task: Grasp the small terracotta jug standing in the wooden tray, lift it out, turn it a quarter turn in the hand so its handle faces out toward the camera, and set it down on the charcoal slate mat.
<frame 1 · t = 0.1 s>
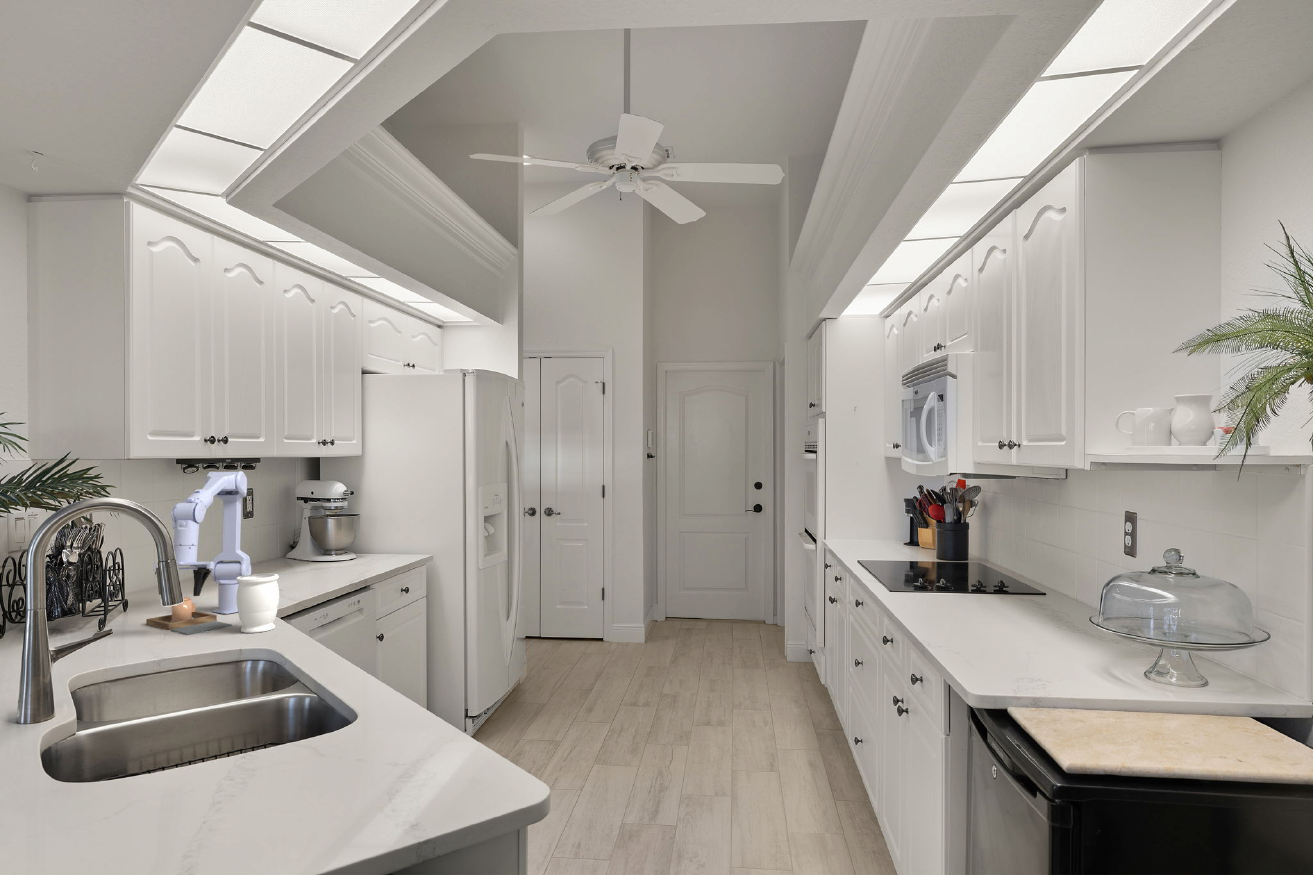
hand: (181, 596, 201), 11 cm above the counter, tool pointing down, fingers open, 7 cm apart
mat: (201, 628, 209), on the counter
jug: (183, 610, 217), in the wooden tray
jar: (258, 630, 206), on the counter
wooden tray: (181, 622, 216), on the counter
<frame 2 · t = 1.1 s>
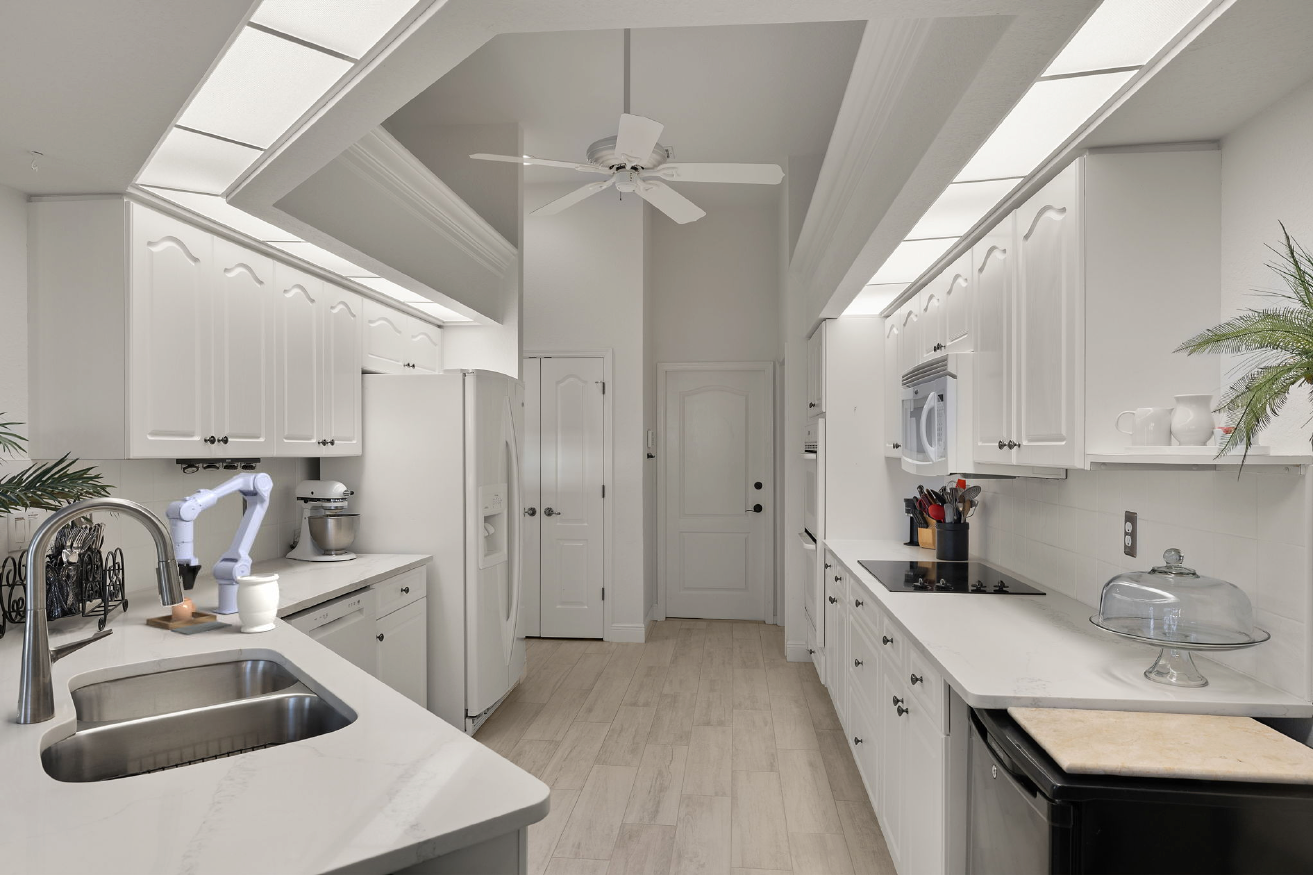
hand: (181, 588, 217), 10 cm above the counter, tool pointing down, fingers open, 7 cm apart
nothing on the counter moved.
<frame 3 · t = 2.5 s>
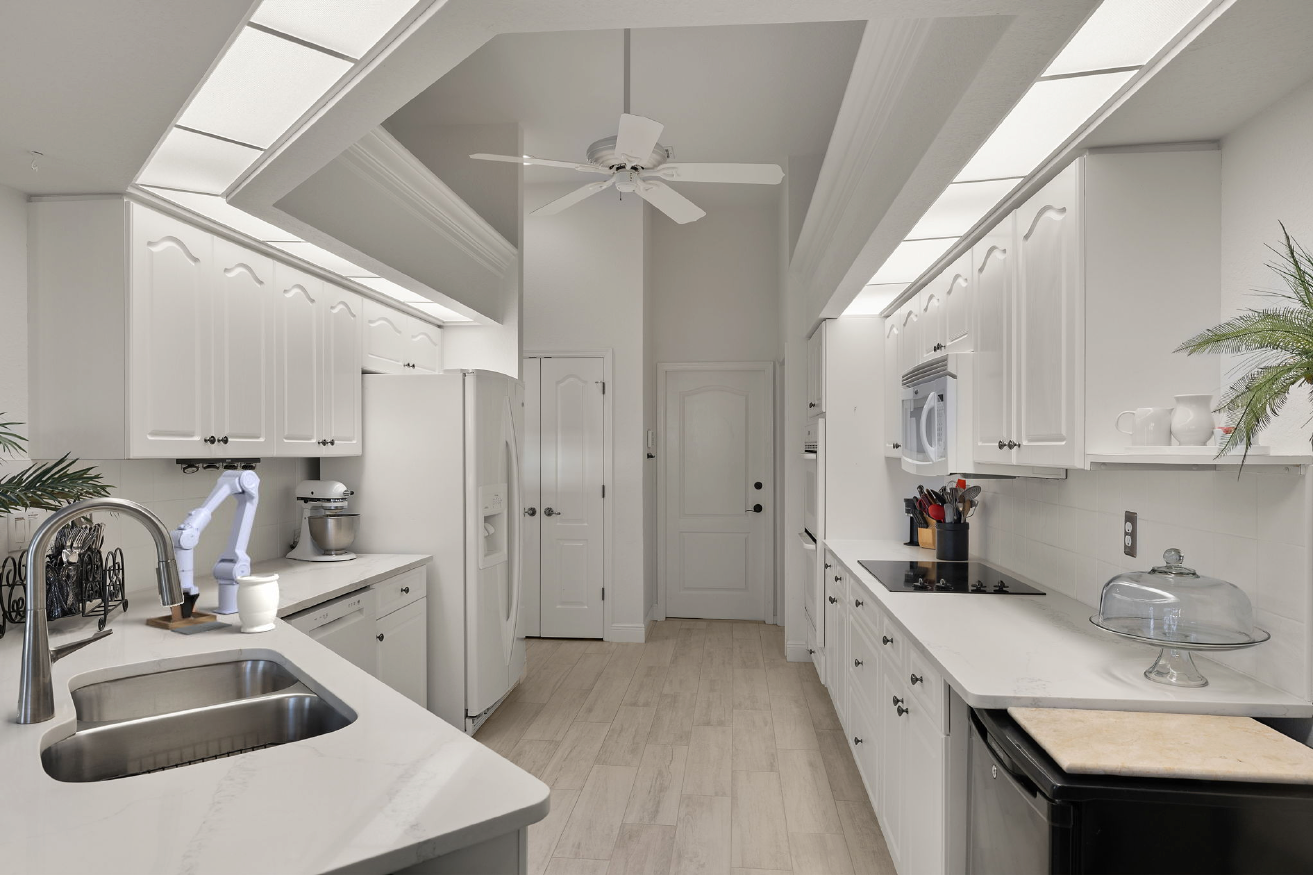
hand: (181, 616, 216), 2 cm above the counter, tool pointing down, fingers closed on jug, 5 cm apart
jug: (183, 610, 217), in the wooden tray, touching gripper
everything else where it was.
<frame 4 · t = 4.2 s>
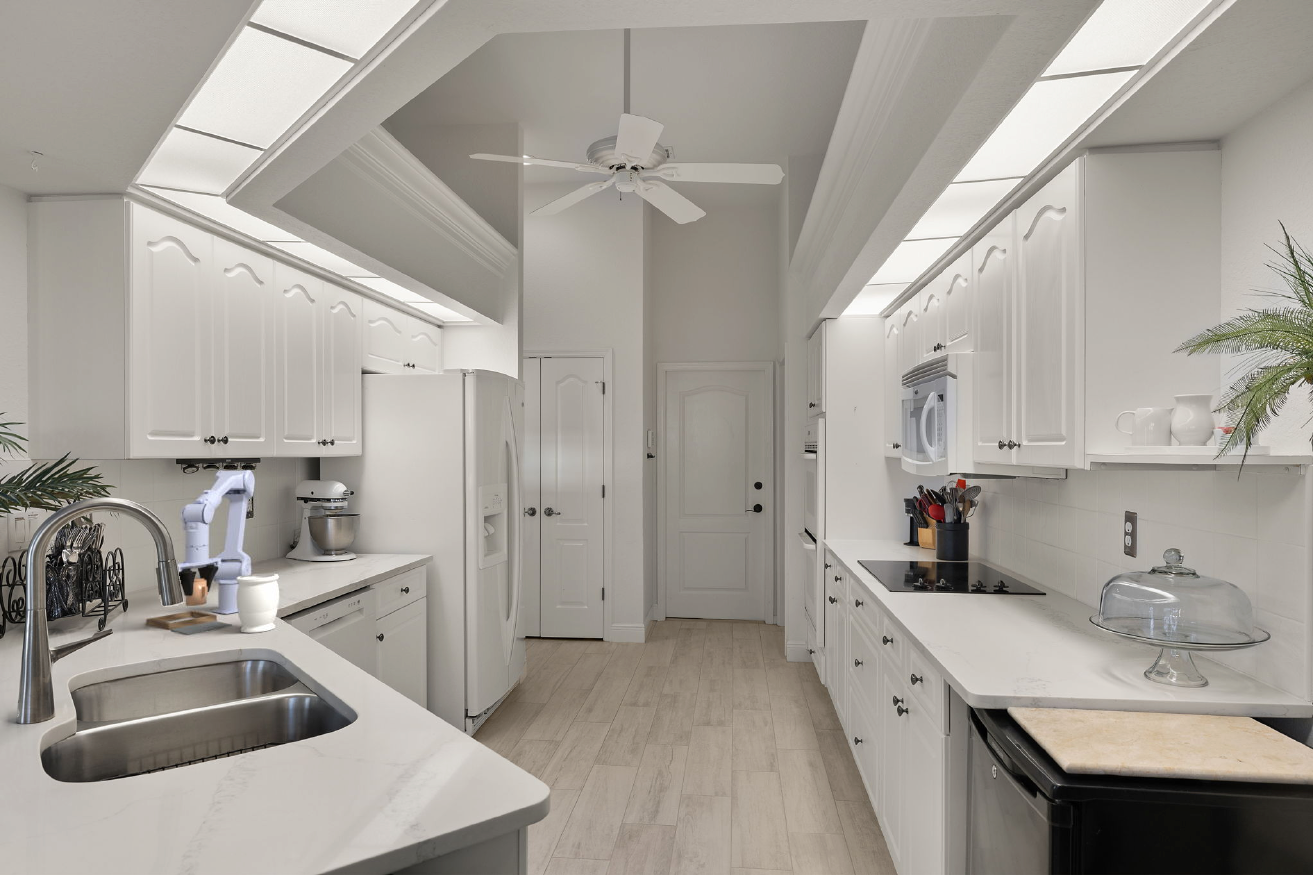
hand: (197, 593, 210), 9 cm above the counter, tool pointing down, fingers closed on jug, 5 cm apart
jug: (197, 591, 210), point 10 cm above the counter, touching gripper
everything else where it was.
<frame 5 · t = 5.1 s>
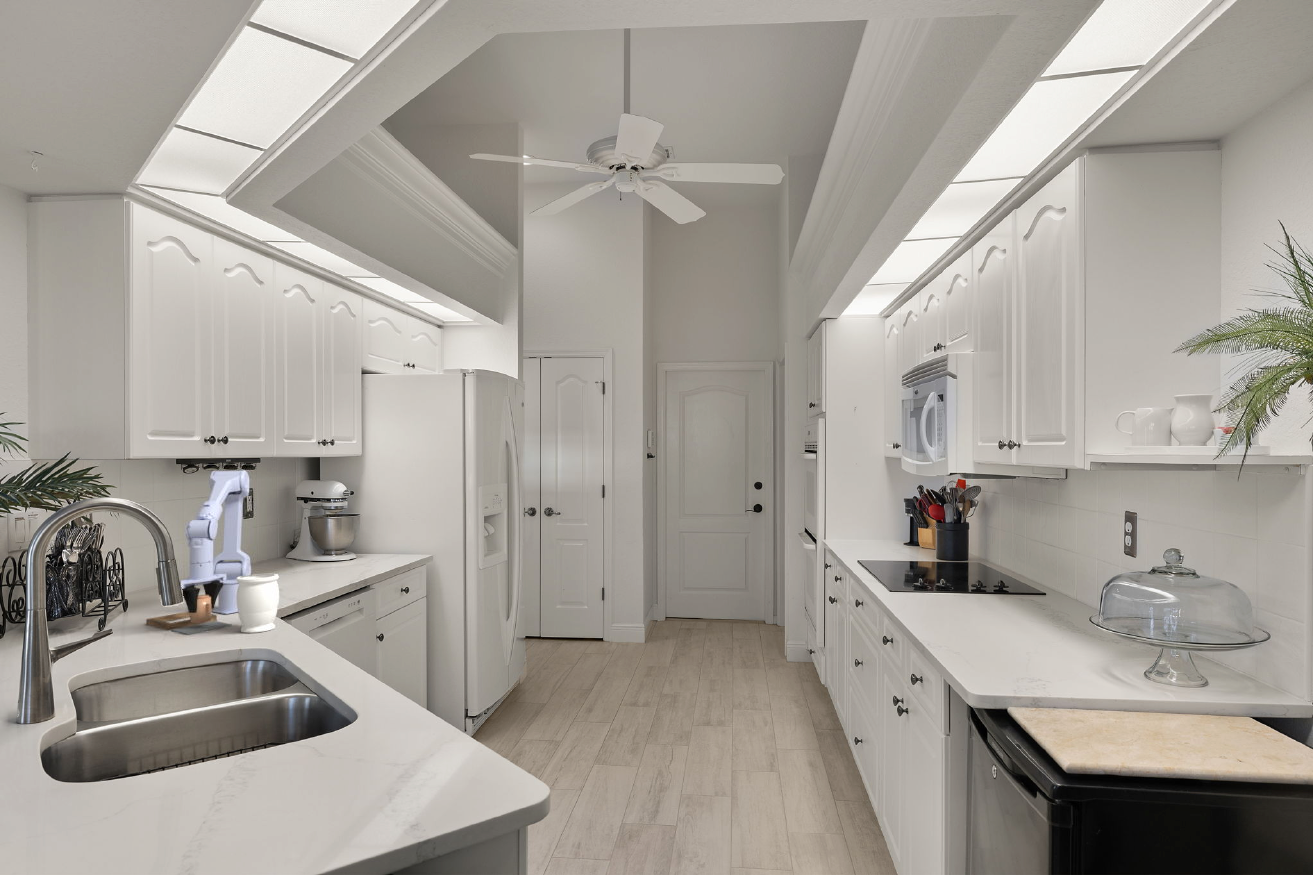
hand: (201, 610, 209), 5 cm above the counter, tool pointing down, fingers closed on jug, 5 cm apart
jug: (202, 608, 209), point 6 cm above the counter, touching gripper
everything else where it was.
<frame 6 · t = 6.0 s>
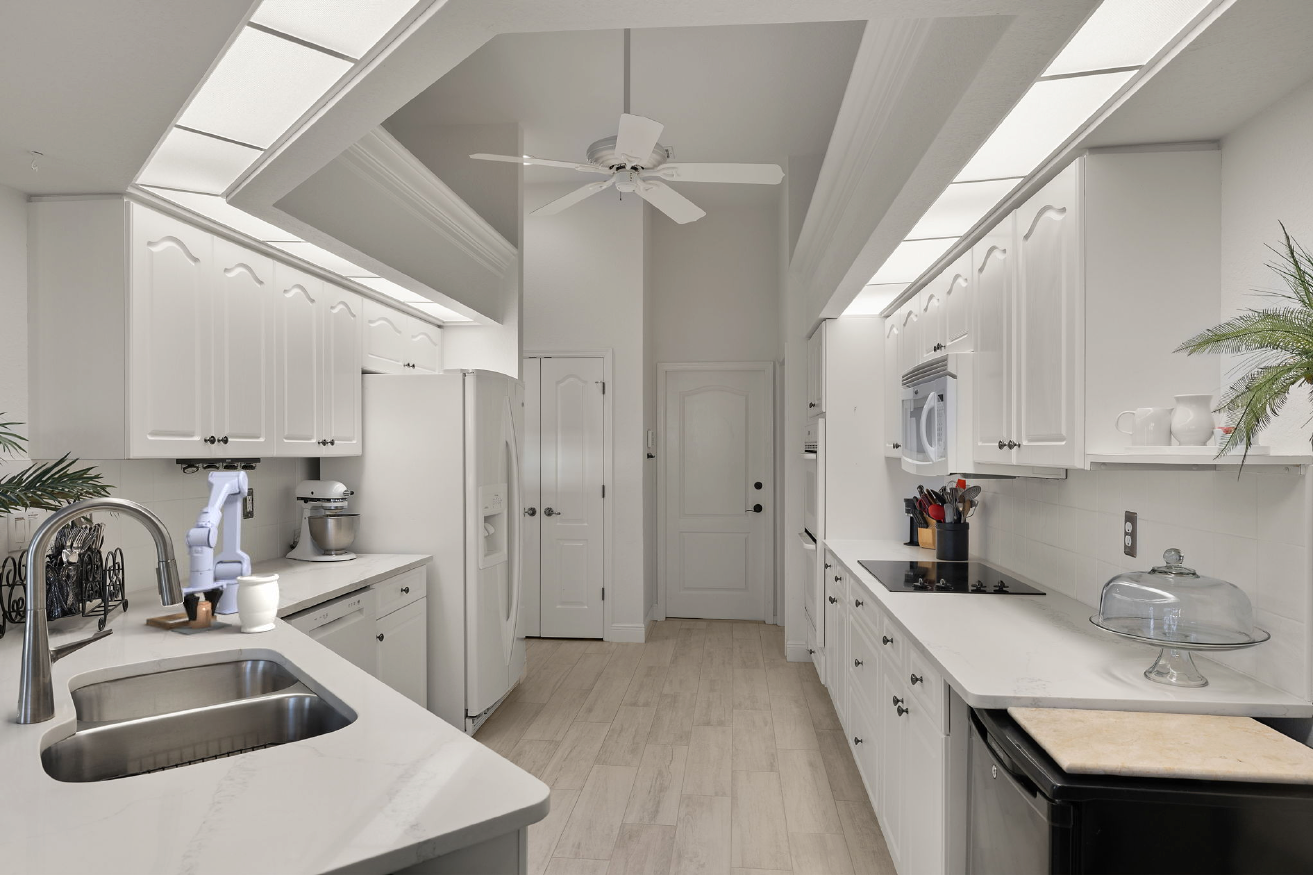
hand: (201, 618, 209), 3 cm above the counter, tool pointing down, fingers closed on jug, 5 cm apart
jug: (202, 614, 209), on the mat, touching gripper
everything else where it was.
when the fingers open (3 cm above the counter, at t = 6.0 s): jug stays where it is, resting on mat.
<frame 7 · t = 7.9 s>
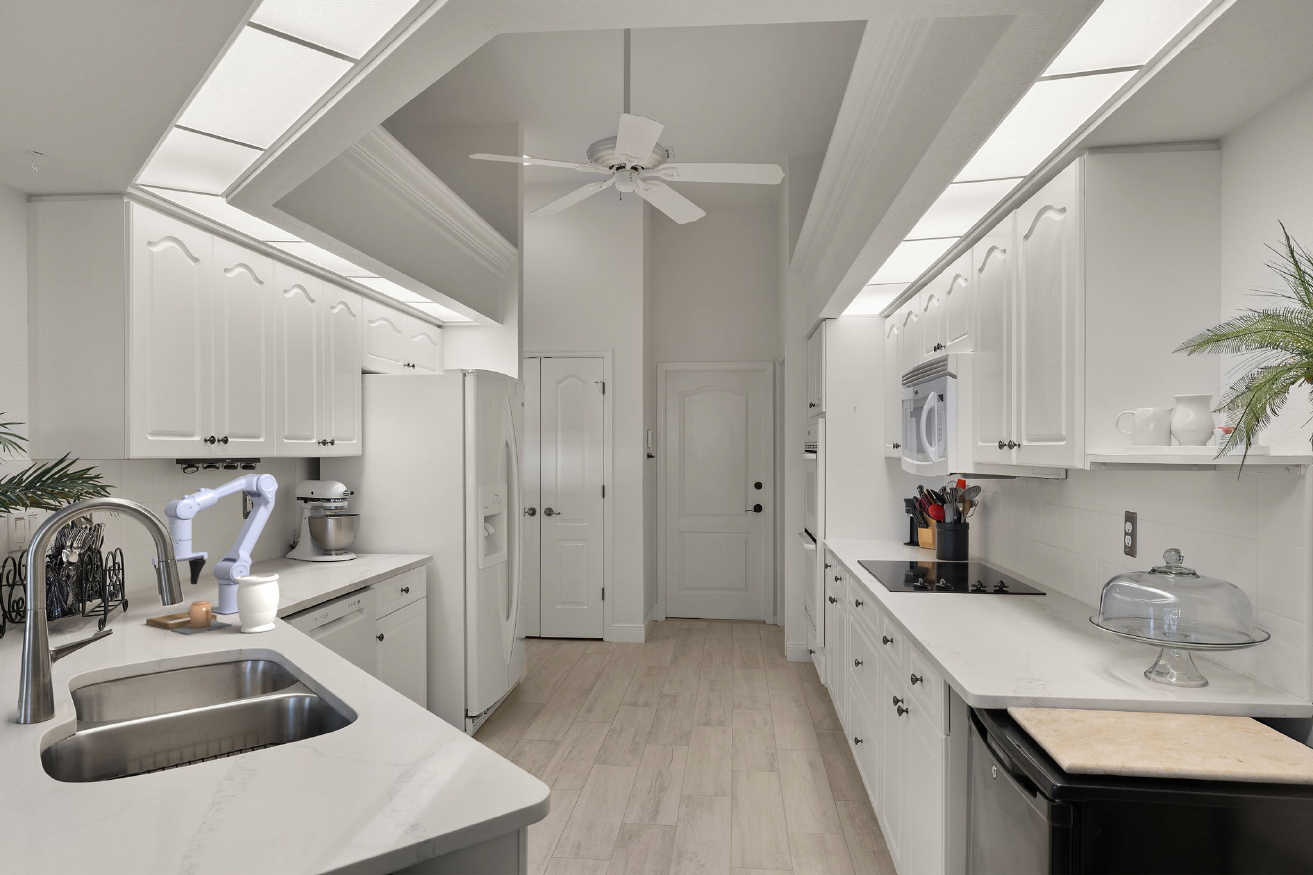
hand: (180, 586, 218), 10 cm above the counter, tool pointing down, fingers open, 7 cm apart
jug: (202, 614, 209), on the mat
everything else where it was.
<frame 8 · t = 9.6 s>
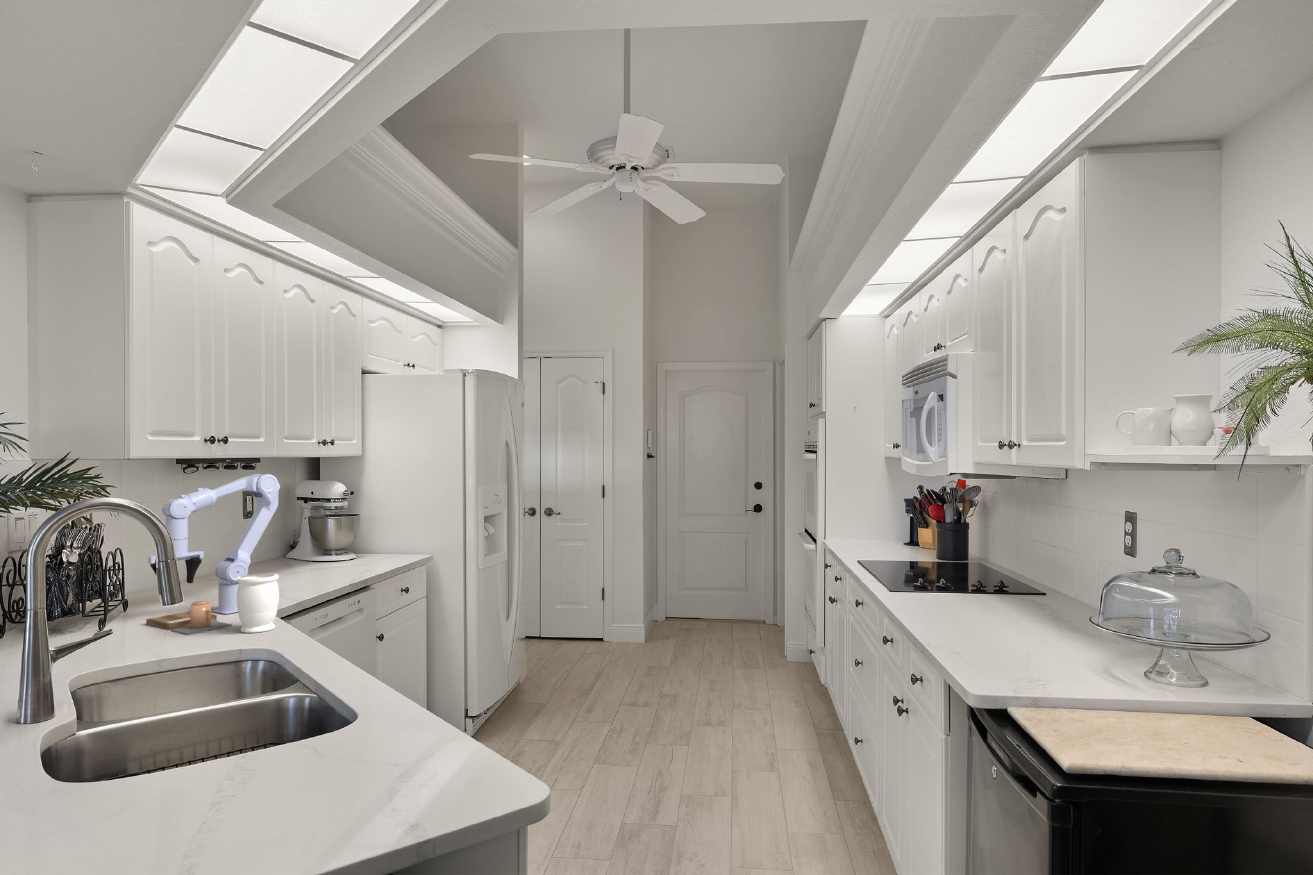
hand: (176, 584, 220), 10 cm above the counter, tool pointing down, fingers open, 7 cm apart
nothing on the counter moved.
at the end: jug inside the target area (0.3 cm from its centre), resting on mat; jug tilted 0°; jug moved 12.8 cm from its start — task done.
